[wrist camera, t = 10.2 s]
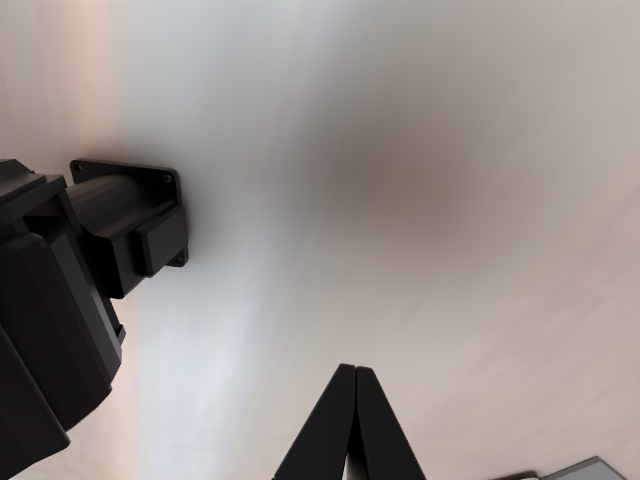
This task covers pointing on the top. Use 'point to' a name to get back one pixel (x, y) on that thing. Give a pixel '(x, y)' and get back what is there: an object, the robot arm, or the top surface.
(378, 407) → the robot arm
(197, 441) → the top surface
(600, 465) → the mat
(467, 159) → the top surface
